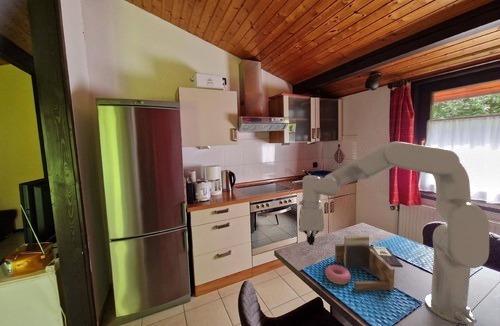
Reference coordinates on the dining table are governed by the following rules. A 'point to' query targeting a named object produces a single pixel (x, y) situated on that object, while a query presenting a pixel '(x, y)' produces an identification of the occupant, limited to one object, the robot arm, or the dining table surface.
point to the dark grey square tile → (357, 256)
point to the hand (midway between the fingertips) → (310, 243)
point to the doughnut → (337, 274)
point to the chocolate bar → (387, 256)
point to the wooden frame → (375, 264)
